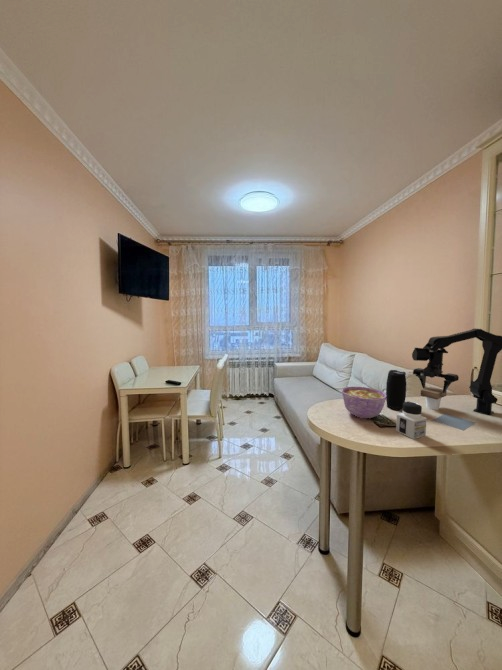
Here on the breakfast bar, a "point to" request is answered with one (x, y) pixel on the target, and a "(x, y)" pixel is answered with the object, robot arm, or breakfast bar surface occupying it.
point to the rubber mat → (454, 421)
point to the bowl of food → (363, 401)
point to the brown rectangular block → (433, 393)
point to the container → (411, 421)
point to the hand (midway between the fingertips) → (433, 390)
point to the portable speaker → (396, 389)
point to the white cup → (433, 403)
